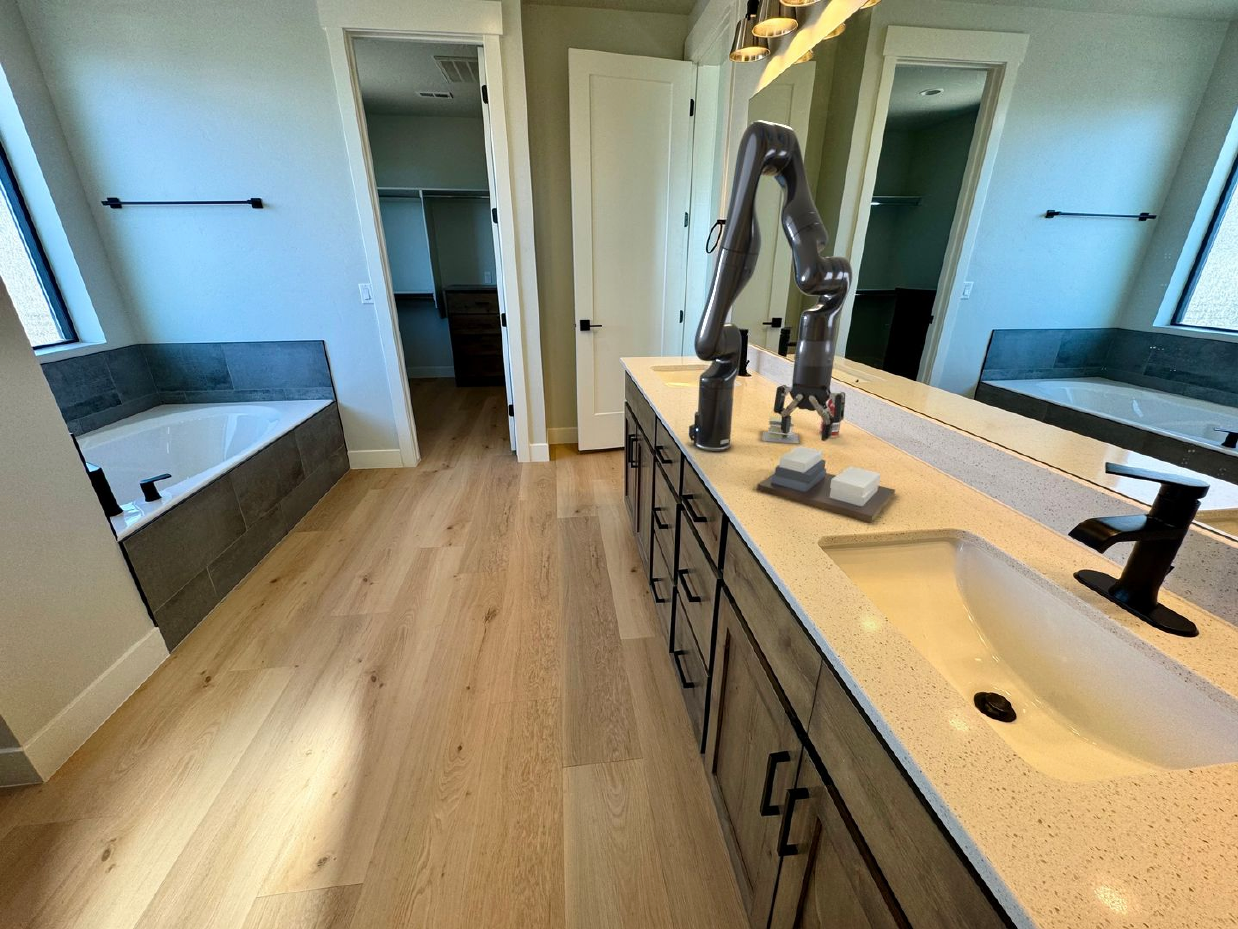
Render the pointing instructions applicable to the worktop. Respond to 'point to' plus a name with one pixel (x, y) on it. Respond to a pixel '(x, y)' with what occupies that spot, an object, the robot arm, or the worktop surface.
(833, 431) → the soda can
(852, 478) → the white books
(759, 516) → the worktop surface
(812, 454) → the frosted white slab
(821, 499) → the walnut board
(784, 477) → the grey books
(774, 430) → the stacked layers on plate
